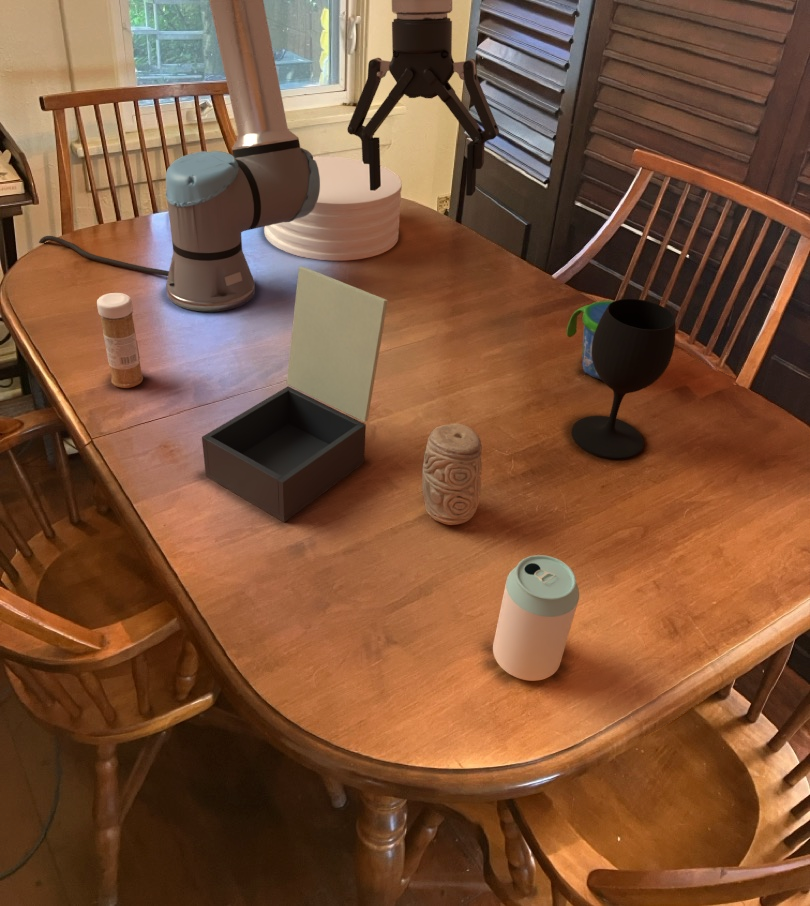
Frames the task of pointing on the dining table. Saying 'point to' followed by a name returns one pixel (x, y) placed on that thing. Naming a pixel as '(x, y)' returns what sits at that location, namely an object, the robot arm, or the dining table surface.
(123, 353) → the sprinkles bottle
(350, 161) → the plate stack
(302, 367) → the cover
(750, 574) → the dining table surface
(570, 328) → the snack cup
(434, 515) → the carving
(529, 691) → the dining table surface
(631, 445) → the wine glass
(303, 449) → the dark grey box
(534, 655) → the can
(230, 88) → the robot arm
